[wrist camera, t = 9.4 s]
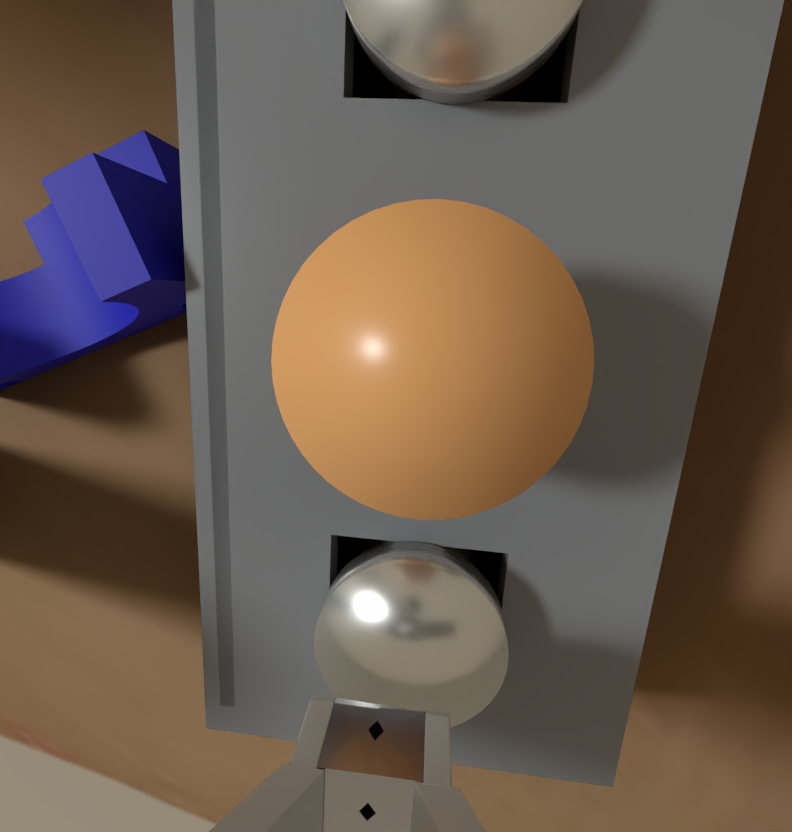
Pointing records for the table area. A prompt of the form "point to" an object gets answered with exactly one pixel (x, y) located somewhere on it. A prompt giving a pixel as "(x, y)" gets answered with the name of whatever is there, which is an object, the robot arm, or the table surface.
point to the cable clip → (97, 259)
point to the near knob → (460, 44)
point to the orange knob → (432, 359)
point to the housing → (563, 234)
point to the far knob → (413, 630)
